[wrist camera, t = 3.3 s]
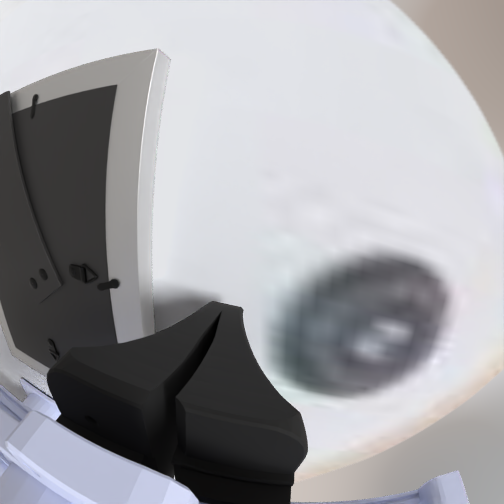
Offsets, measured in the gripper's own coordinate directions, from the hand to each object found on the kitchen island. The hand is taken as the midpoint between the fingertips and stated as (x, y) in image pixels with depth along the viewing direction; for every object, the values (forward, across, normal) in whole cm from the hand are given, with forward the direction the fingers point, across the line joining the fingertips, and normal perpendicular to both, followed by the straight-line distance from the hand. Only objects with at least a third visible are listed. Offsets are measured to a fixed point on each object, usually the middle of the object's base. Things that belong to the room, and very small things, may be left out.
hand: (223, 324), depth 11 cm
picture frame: (+2, +12, 0) cm, 12 cm away
